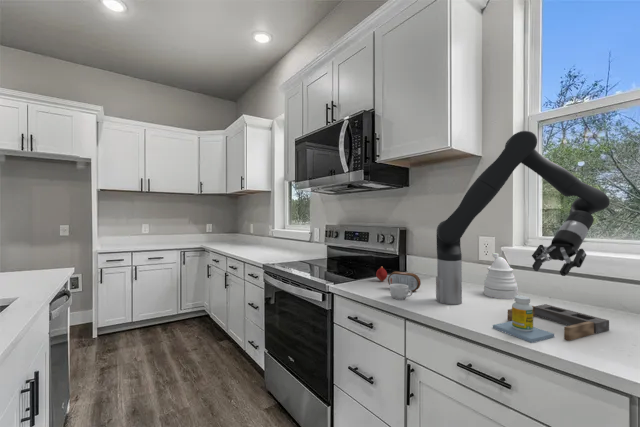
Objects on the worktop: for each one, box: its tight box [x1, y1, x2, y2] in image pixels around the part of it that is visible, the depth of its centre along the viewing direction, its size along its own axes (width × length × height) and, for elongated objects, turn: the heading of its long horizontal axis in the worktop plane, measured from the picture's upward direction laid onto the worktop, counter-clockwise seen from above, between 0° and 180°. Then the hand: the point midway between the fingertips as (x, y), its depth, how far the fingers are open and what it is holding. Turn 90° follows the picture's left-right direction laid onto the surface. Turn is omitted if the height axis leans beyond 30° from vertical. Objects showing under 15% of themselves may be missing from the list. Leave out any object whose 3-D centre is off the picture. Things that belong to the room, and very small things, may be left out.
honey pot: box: [483, 252, 519, 300], centre depth 136 cm, size 13×13×18 cm
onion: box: [375, 266, 388, 282], centre depth 164 cm, size 6×6×8 cm
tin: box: [387, 270, 422, 292], centre depth 145 cm, size 15×3×8 cm, turn 58°
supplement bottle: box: [511, 295, 534, 332], centre depth 94 cm, size 5×5×10 cm
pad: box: [492, 321, 555, 344], centre depth 93 cm, size 10×12×1 cm
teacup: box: [389, 284, 413, 301], centre depth 131 cm, size 10×8×5 cm
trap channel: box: [507, 303, 610, 342], centre depth 100 cm, size 20×18×4 cm
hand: (547, 271), depth 103 cm, fingers open, 8 cm apart
